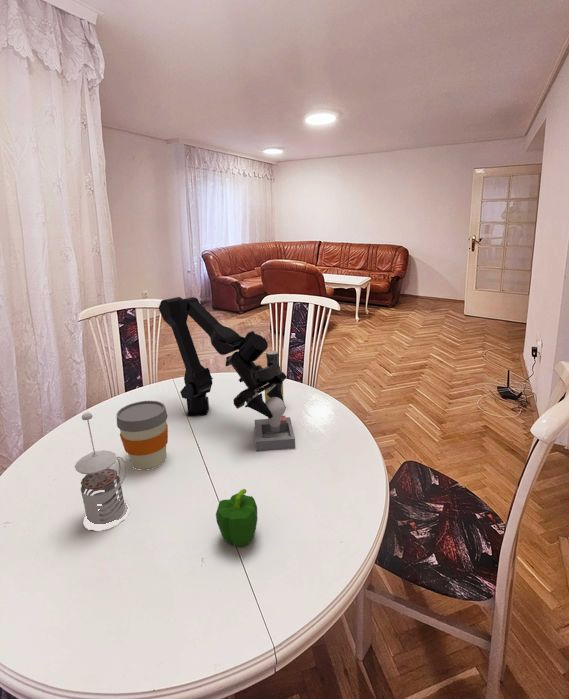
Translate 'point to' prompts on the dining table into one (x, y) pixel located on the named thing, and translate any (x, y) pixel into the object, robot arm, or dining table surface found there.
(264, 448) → the socket
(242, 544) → the bell pepper
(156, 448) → the reusable coffee cup
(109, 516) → the french press
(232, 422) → the dining table surface
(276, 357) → the sauce bottle
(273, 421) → the lightbulb
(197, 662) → the dining table surface
